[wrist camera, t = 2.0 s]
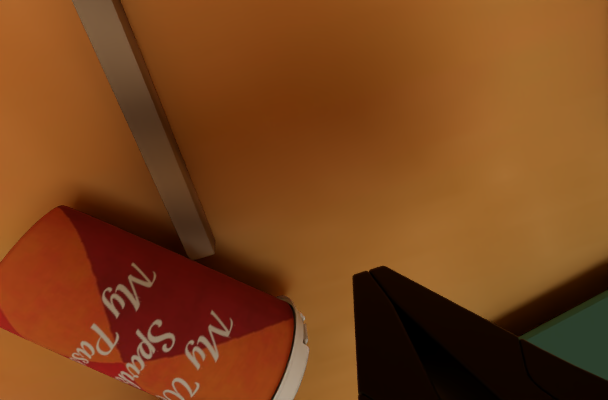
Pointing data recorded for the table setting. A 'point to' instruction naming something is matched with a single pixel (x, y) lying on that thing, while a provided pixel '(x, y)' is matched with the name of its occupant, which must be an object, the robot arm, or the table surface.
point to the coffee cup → (149, 314)
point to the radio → (578, 336)
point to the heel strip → (146, 120)
